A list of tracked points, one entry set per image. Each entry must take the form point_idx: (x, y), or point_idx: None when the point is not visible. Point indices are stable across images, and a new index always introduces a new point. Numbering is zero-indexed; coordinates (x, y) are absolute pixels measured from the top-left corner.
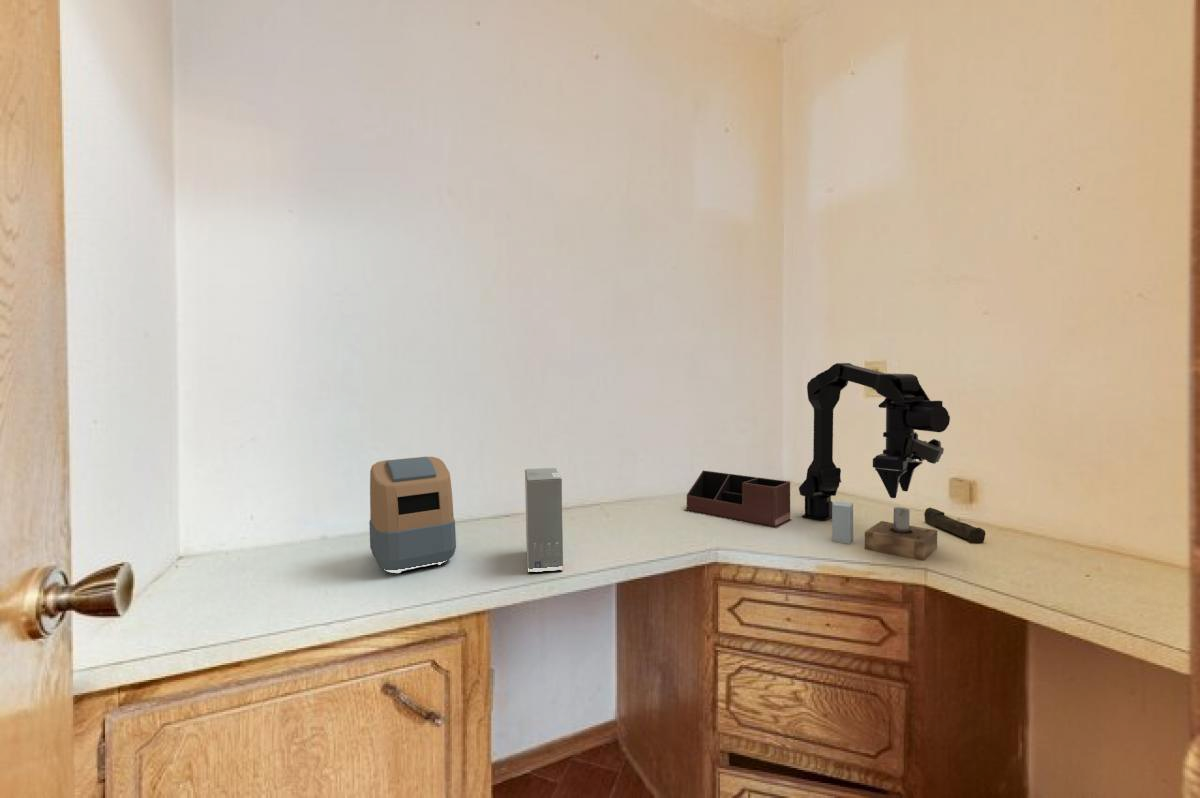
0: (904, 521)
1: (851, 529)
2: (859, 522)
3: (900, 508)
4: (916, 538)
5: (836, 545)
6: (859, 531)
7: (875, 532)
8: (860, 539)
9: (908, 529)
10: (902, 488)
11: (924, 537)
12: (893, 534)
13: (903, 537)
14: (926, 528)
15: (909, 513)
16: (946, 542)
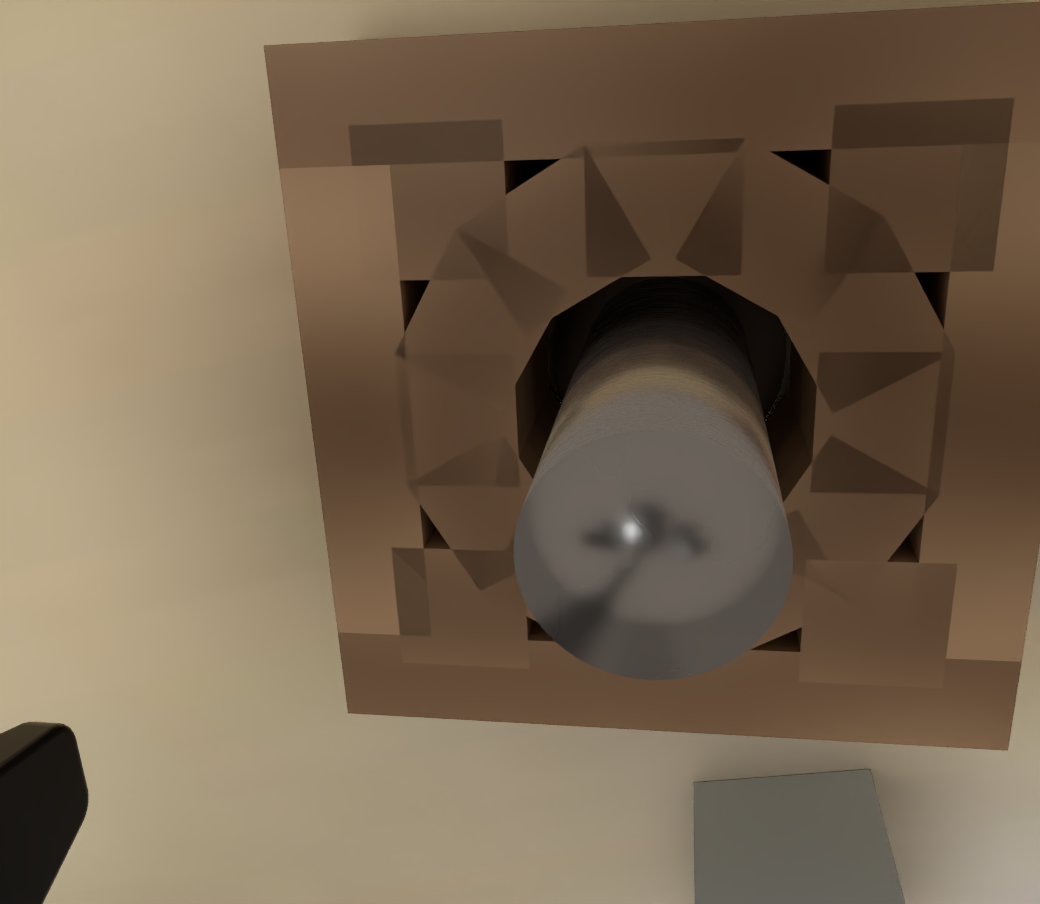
0: (749, 416)
1: (803, 875)
2: (81, 862)
3: (610, 586)
4: (951, 148)
5: (1006, 850)
6: (370, 799)
7: (967, 645)
8: (637, 733)
9: (682, 336)
10: (54, 846)
11: (814, 71)
12: (922, 451)
13: (1006, 308)
14: (294, 190)
15: (624, 410)
16: (79, 20)
